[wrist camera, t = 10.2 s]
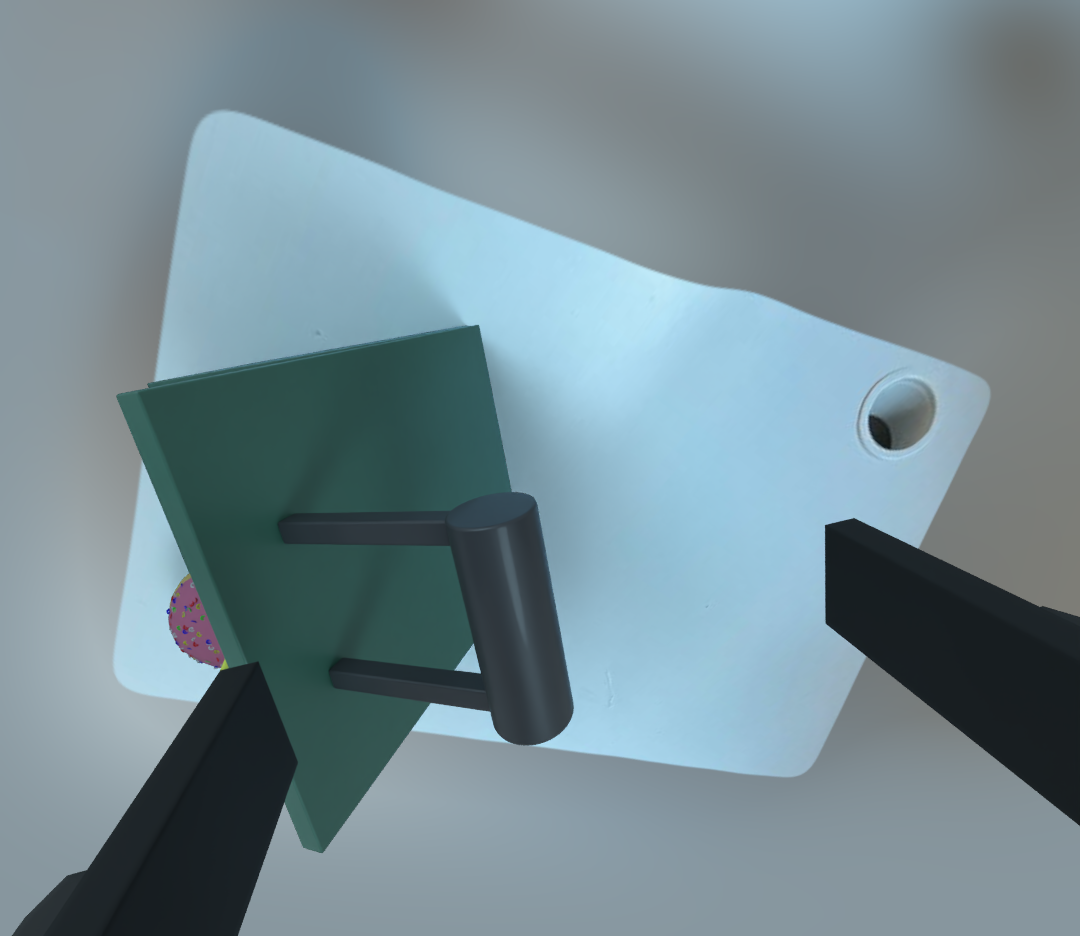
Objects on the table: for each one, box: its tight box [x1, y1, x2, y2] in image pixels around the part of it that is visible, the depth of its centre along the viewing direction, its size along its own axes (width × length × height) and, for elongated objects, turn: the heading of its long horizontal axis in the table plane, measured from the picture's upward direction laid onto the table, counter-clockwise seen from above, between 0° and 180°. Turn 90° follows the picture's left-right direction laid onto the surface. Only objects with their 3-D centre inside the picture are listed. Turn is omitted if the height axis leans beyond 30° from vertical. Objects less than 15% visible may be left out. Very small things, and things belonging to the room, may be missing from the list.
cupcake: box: [167, 573, 229, 670], centre depth 36 cm, size 9×8×12 cm
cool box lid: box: [116, 325, 574, 853], centre depth 19 cm, size 17×14×8 cm
